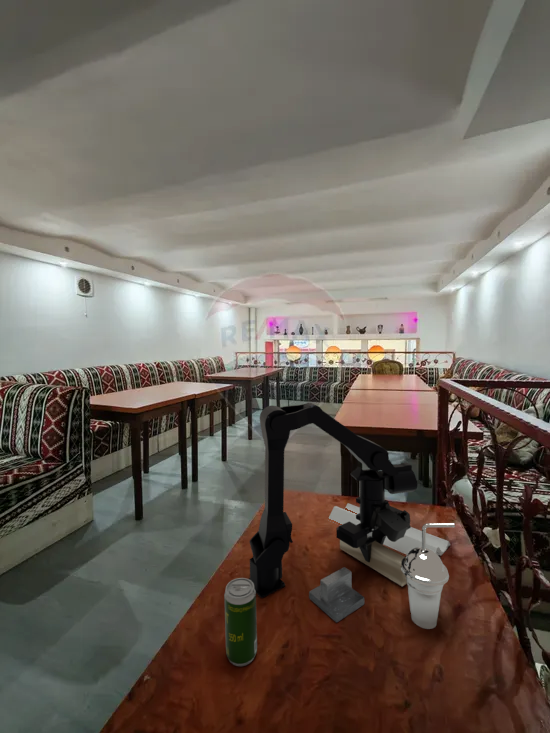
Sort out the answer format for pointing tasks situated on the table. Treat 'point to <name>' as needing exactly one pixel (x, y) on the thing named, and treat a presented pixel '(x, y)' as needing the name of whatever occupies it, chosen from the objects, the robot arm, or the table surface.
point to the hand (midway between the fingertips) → (372, 559)
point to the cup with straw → (425, 580)
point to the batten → (380, 561)
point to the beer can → (240, 621)
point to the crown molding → (403, 544)
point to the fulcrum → (337, 595)
